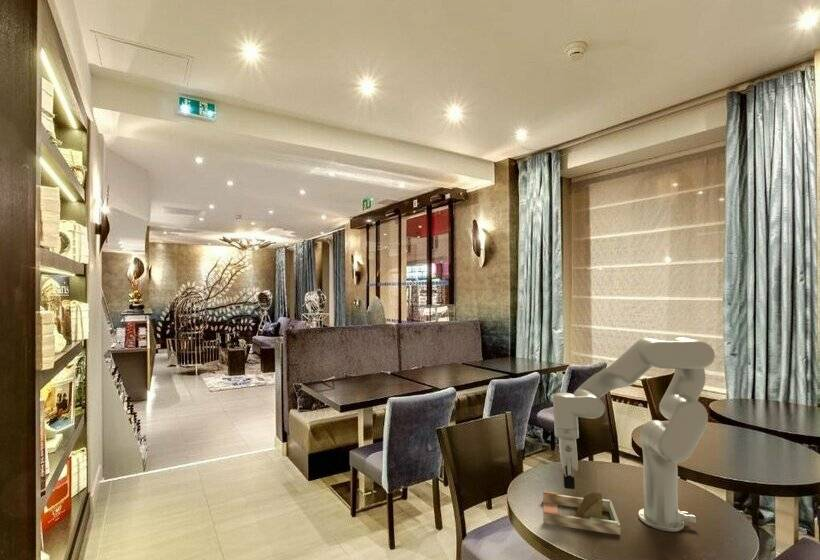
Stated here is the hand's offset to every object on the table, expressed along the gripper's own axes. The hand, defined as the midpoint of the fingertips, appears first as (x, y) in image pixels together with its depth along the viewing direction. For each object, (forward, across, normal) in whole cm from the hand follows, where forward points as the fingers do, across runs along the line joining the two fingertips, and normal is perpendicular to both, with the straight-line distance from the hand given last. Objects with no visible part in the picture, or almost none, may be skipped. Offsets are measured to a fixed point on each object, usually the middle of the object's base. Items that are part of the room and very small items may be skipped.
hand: (569, 487), depth 139 cm
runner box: (+9, 0, -2) cm, 9 cm away
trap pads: (+9, 0, +6) cm, 11 cm away
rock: (+10, -2, -5) cm, 11 cm away
